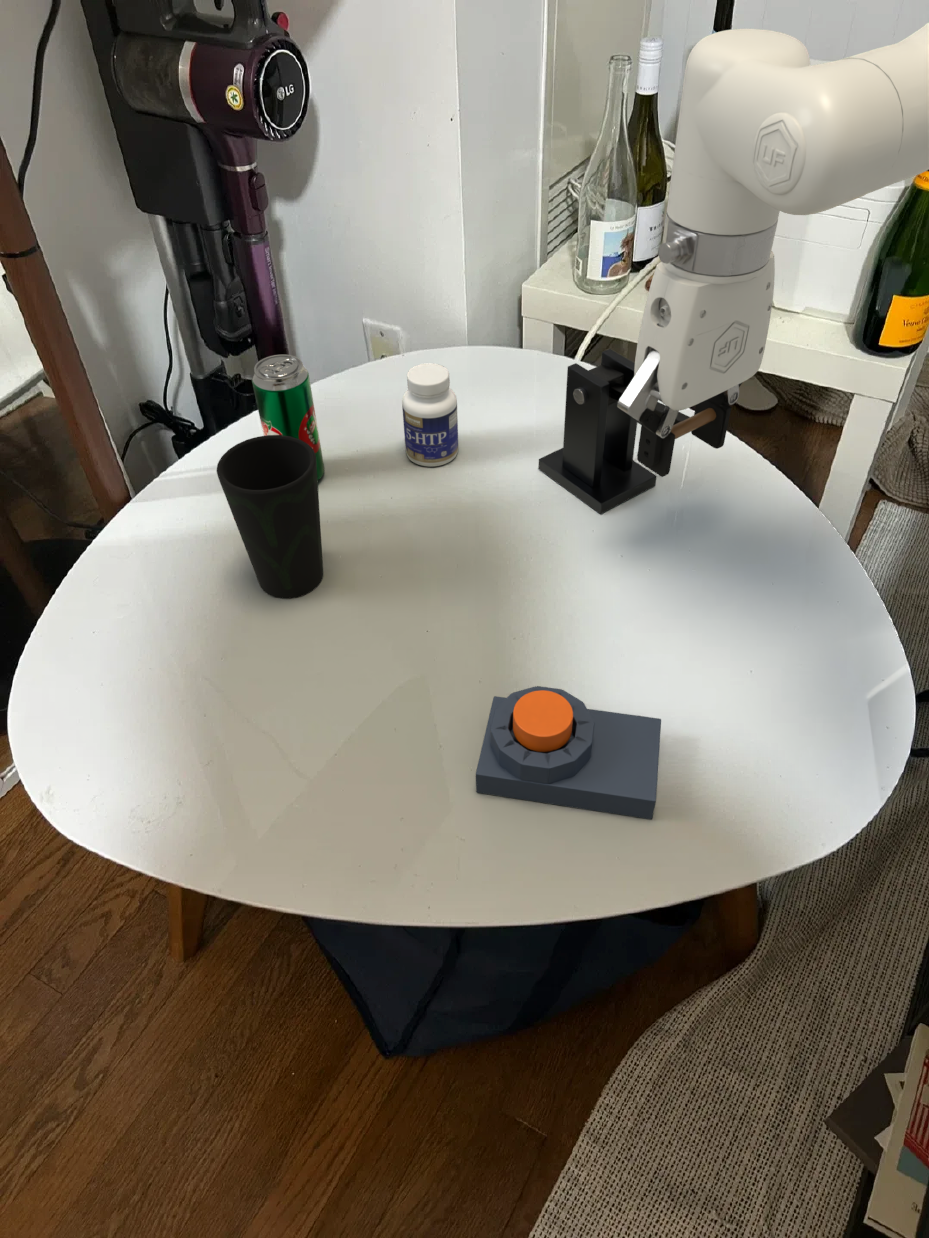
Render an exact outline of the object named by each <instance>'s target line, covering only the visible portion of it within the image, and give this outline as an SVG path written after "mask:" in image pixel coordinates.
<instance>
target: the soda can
mask: <svg viewBox="0 0 929 1238" xmlns="http://www.w3.org/2000/svg"><path fill="white" fill-rule="evenodd" d="M253 372H254V373H253V375H252V378H251V383H252V384H251V385H252V388H253V392H254V396H255V402H256V407H257V412H258V415H259V420H260V424H261V430H262V434H263V436H266V435H284V436H291V437H294V438H297V439H300V440H302V441H303V442H305V443H307V444H308V445H309V446H310V447H311V448H312V449H313V450H314V452H315V455H316V463H317V479H318V481H320V479H321V478H322V477H323V476H324V473H325V464H324V457H323V452H322V447H321V446H322V445H321V439H320V434H319V427H318V422H317V415H316V410H315V404H314V396H313V391H312V385H311V380H310V375H309V374H310V373H309V371H308V369H307V368H306V367H305V366H304V363H303V361H302V360H301V359H300V358H299V357H297V356H295V355H292V354H273V355H269V356H266V357H264V358H261V359H260V360H258V361H257V362H256V364H255V365H254V368H253Z"/></svg>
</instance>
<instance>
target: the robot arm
mask: <svg viewBox="0 0 929 1238" xmlns="http://www.w3.org/2000/svg"><path fill="white" fill-rule="evenodd" d="M685 64H686V65H685V70H684V75H683V83H682V91H681V97H680V98H681V99H680V107H679V114H678V122H677V129H676V137H675V145H674V152H673V153H674V154H673V159H672V166H671V167H672V168H671V175H670V182H669V183H670V184H669V190H668V198H667V205H666V211H665V219H664V226H663V234H662V242H661V244H660V245H659V247H658V250H657V253H658V254H657V255H658V258H659V260H660V261H659V262H658V263H657V264H656V266H655V269H654V273H653V276H652V277H651V282H650V286H649V289H648V292H647V295H646V300H645V305H644V308H643V313H642V318H641V321H640V322H641V323H640V327H639V333H638V338H637V344H636V352H635V359H634V363H635V368H634V377H633V379H632V381H631V382H630V384H629V385H628V387H627V388H626V390H625V391H624V393H623V394H622V396H621V397H620V399H619V401H618V403H617V407H618V408H619V409H621V410H622V411H624V412H625V413H627V414H628V415H630V416H631V417H632V418H633V419H635V420H636V421H637V424H639V425H640V433H639V440H638V448H637V454H636V455H637V456H636V459H637V461H638V463H640V465H642V466H643V467H644V466H645V468H646V469H648V470H649V471H651V472H652V473H654V474H655V475H657V476H659V477H661V478H663V477H666V476H667V475H669V474H670V472H671V466H672V460H673V455H674V448H675V442H676V439H675V435H674V434H673V433H672V432H670V431H671V429H672V427H673V424H674V422H675V419H676V417H677V414H678V412H681V411H684V410H687V409H690V408H691V407H694V406H695V408H694V413H693V415H695V414H698V413H700V412H702V411H704V410H706V409H708V408H712V409H713V410H714V411H715V413H716V418H715V420H713V421H711V422H709V423H707V424H705V425H703V426H701V427H699V428H697V429H695V430H693V431H691V432H690V433H691V435H692V436H694V437H696V438H697V439H699V440H700V441H702V442H703V443H705V444H707V445H708V446H710V447H711V448H712V449H716V450H717V449H720V448H722V447H724V445H725V440H726V435H727V432H728V426H729V421H730V417H731V412H732V405H734V404H735V403H736V402H737V401H738V400H739V398H740V387H741V386H742V385H743V383H744V382H746V381H748V380H750V379H751V378H753V376H755V375H756V374H757V373H758V372H759V370H760V368H761V365H762V362H763V359H764V353H765V350H766V344H767V340H768V333H769V328H770V321H771V315H772V309H773V300H774V291H775V275H776V266H775V264H776V262H775V261H776V260H775V253H774V252H773V251H772V249H773V245H774V241H775V236H776V231H777V228H778V227H777V226H778V222H779V217H780V216H779V215H780V212H782V213H784V214H786V215H787V214H788V215H792V216H810V215H815V214H818V213H819V214H820V213H823V212H826V211H828V210H831V209H834V208H836V207H839V206H842V205H844V204H846V203H848V202H851V201H854V200H857V199H859V198H862V197H865V196H866V195H868V194H870V193H874V192H876V191H878V190H881V189H884V188H886V187H889V186H891V185H894V184H897V183H901V182H902V181H905V180H908V179H910V178H913V177H916V176H919V175H920V174H923V173H925V172H927V171H929V21H928V22H927V23H925V24H924V25H923V26H921V27H920V28H919V29H917V30H916V31H914V32H913V33H911V34H910V35H908V36H907V37H905V38H904V39H901V40H900V41H898V42H896V43H893V44H888V45H885V46H880V47H877V48H873V49H869V50H867V51H864V52H860V53H857V54H854V55H851V56H847V57H843V58H840V59H837V60H833V61H828V62H822V63H816V64H812V65H811V57H810V53H809V51H808V48H807V47H806V45H805V44H804V43H803V42H802V41H801V40H799V39H798V38H796V37H795V36H792V35H790V34H787V33H784V32H780V31H776V30H771V29H770V30H769V29H762V28H735V29H734V28H733V29H725V30H721V31H718V32H714V33H711V34H708V35H706V36H704V37H703V38H701V39H700V40H698V42H697V43H696V44H695V45H694V46H693V47H692V49H691V51H690V52H689V54H688V57H687V60H686V63H685ZM657 402H660V403H662V404H664V405H666V406H665V408H664V411H663V413H662V416H661V417H659V416H658V415H657V414H656V413H655V412H654V409H655V407H656V404H657Z"/></svg>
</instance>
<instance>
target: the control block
mask: <svg viewBox="0 0 929 1238" xmlns="http://www.w3.org/2000/svg"><path fill="white" fill-rule="evenodd" d="M540 690H544V691H551V692H555V693H557V694H559V695H561V696H562V697H564V698H565V699H566V700H567V701H568V702H569V704H570V705H571V707H572V710H573V723H572V733H571V736H570V739H569V740H568V741H567V743H566V744H565V745H564V746H562V747H561V748H559V749H557V750H554V751H550V752H537V751H533V750H530V749H528V748H526V747H524V746H523V745H522V744H521V743H520V742H519V741H518V740H517V739H516V737H515V735H514V732H513V710H514V706H515V704H516V703H517V701H518V700H519V699H520V698H521V697H522V696H524V695H526V694H528V693H530V692H533V691H540ZM661 732H662V718H659V717H652V716H651V717H650V716H643V715H638V714H637V715H636V714H629V713H621V712H614V711H607V710H599V709H592V708H588V707H587V706H586V704H585V703H584V701H582V700H580V699H579V698H577V697H576V696H574V695H572V694H571V693H569V692H568V691H566V690H564V689H561V688H557V687H556V688H555V687H547V686H539V685H537V686H536V685H535V686H532V687H528V688H523V689H521V690H518V691H514V692H512V693H510V694H508V696H507V697H503V696H497V695H494V696H493V698H492V703H491V707H490V711H489V715H488V720H487V724H486V727H485V732H484V735H483V736H484V737H483V741H482V746H481V750H480V753H479V759H478V761H477V766H476V771H475V791H476V793H478V794H483V795H484V794H485V795H491V796H496V797H497V796H498V797H504V798H511V799H516V800H523V801H530V802H536V803H543V804H548V805H555V806H562V807H569V808H575V809H581V810H588V811H595V812H601V813H608V814H614V815H621V816H627V817H633V818H641V819H646V820H652V819H653V817H654V812H655V806H656V803H657V789H658V775H659V761H660V760H659V759H660V746H661V745H660V744H661Z"/></svg>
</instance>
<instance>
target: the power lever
mask: <svg viewBox="0 0 929 1238" xmlns="http://www.w3.org/2000/svg"><path fill="white" fill-rule="evenodd" d="M587 370H588V371H590V372H592V373H593V374H595V375H597V376H598V377H600V378H602V379H603V380H605V381H607V382H608V383H610V385H609V396H608V405H611V404H613V403H615V402H617V401H619V399H620V397H621V396H622V394H623V393H624V391H625V390H626V388H627V387H626V386H624V374H623V373H621V372H619V371H616V370H614V369H612V368H610V367H608V366H606V365H603V364H602V365H601V364H600V365H597V366H595V367H593V368H591V369H587ZM665 406H666V405H665V404H663V402H660V401H658V402H657V404H656V407H655V409H654V412H655V413H656V414H657V415H658V416H659V417H661V416H662V413H663V411H664V408H665ZM715 418H716V413H715V411H714V410H713V409H712V408H708V409H706V410H704V411H702V412H700V413H698V414H695V415H694V414H693V415H692V416H689V415H687V414H684V413H683V412H681V411H679V412H678V414H677V417H676V419H675V422H674V424H673V427H672V429H671V431H670V432H672V433H673V434H674V435H675V440H677V439H679V438H680V437H681V438H682V437H683V436H685V435H687V434H689V433H691V431H693V430H695V429H697V428H699V427H701V426H703V425H705V424H707V423H709V422H711V421H713V420H715Z"/></svg>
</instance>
